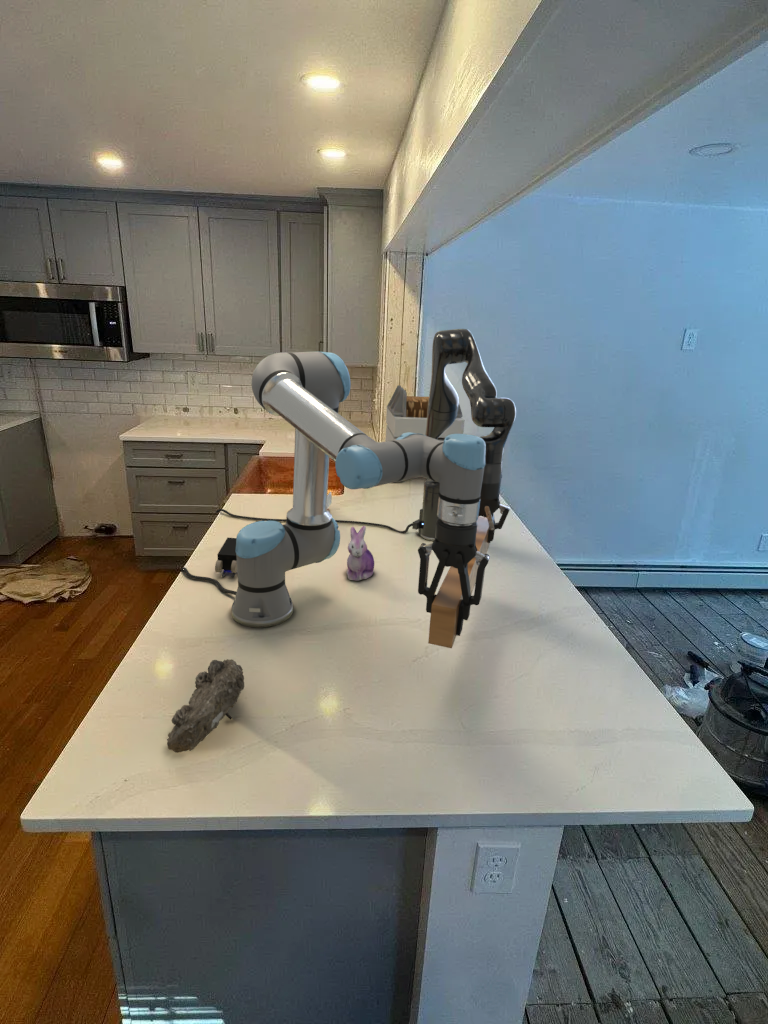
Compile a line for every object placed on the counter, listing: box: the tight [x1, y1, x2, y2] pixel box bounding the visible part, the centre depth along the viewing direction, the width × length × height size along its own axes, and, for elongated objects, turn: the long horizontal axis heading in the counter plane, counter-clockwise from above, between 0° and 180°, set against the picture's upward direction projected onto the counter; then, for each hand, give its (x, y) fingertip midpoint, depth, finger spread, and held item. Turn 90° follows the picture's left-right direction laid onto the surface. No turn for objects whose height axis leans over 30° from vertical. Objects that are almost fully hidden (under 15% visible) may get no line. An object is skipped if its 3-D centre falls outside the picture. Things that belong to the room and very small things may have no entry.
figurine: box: [346, 525, 375, 582], centre depth 165 cm, size 9×10×15 cm
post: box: [427, 516, 490, 649], centre depth 129 cm, size 52×5×8 cm, turn 163°
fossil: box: [166, 658, 245, 754], centre depth 106 cm, size 22×10×15 cm
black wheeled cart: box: [214, 537, 237, 578], centre depth 166 cm, size 7×8×15 cm
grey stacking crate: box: [384, 384, 465, 483], centre depth 268 cm, size 34×33×41 cm
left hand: (445, 629), depth 112 cm, fingers closed on post, 5 cm apart
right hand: (479, 540), depth 148 cm, fingers closed on post, 4 cm apart
